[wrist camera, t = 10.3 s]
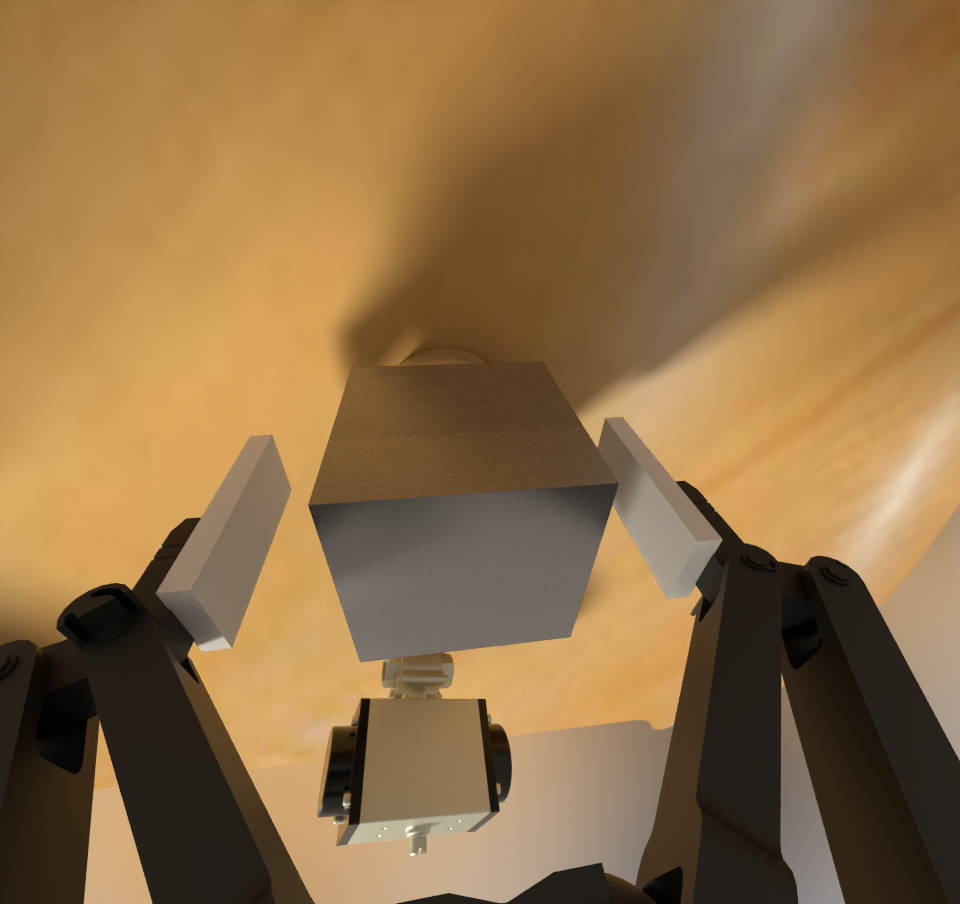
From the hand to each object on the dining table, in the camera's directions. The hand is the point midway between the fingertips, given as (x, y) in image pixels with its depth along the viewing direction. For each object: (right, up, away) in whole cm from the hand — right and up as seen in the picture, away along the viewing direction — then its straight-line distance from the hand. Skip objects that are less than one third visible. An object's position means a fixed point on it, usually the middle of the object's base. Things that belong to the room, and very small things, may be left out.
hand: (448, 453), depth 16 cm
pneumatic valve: (-4, -16, +16) cm, 24 cm away
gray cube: (0, 0, 0) cm, 1 cm away
